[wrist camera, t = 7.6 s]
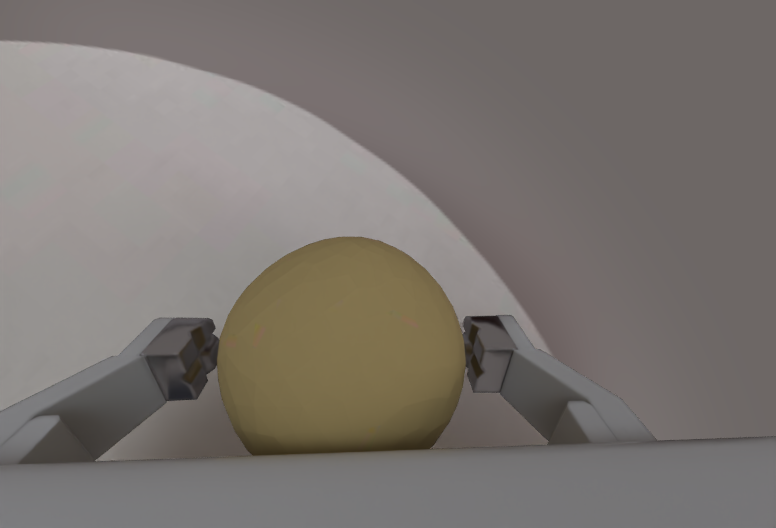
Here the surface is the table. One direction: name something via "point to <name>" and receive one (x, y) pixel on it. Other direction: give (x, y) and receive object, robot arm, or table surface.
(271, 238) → the table surface
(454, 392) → the light bulb
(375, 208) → the table surface
